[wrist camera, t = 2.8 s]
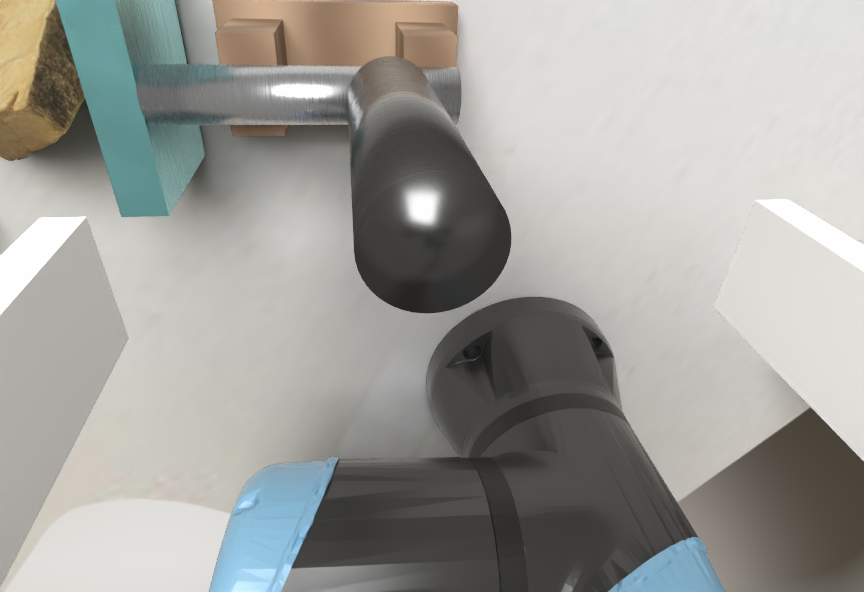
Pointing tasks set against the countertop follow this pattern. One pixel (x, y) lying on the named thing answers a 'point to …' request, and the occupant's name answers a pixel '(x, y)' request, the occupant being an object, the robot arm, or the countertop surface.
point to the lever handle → (299, 105)
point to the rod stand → (332, 35)
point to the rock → (35, 78)
